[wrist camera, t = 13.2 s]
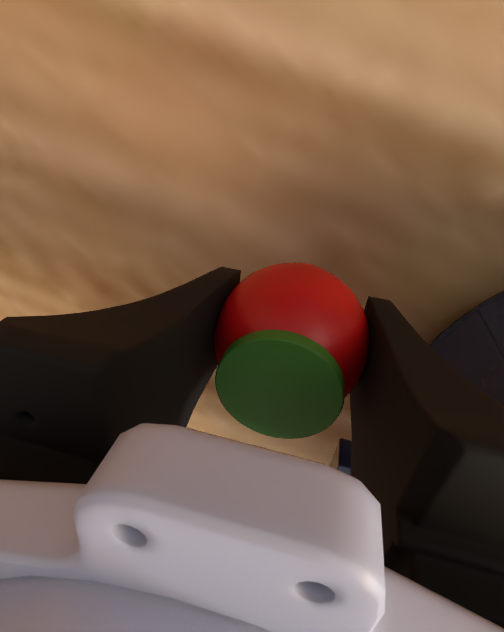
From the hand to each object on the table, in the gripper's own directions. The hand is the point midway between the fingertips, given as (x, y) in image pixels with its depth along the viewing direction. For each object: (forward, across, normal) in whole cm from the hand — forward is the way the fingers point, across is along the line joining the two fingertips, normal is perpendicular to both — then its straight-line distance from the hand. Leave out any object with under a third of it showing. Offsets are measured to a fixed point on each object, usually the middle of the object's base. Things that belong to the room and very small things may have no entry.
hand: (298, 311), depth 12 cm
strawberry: (+1, 0, 0) cm, 1 cm away
